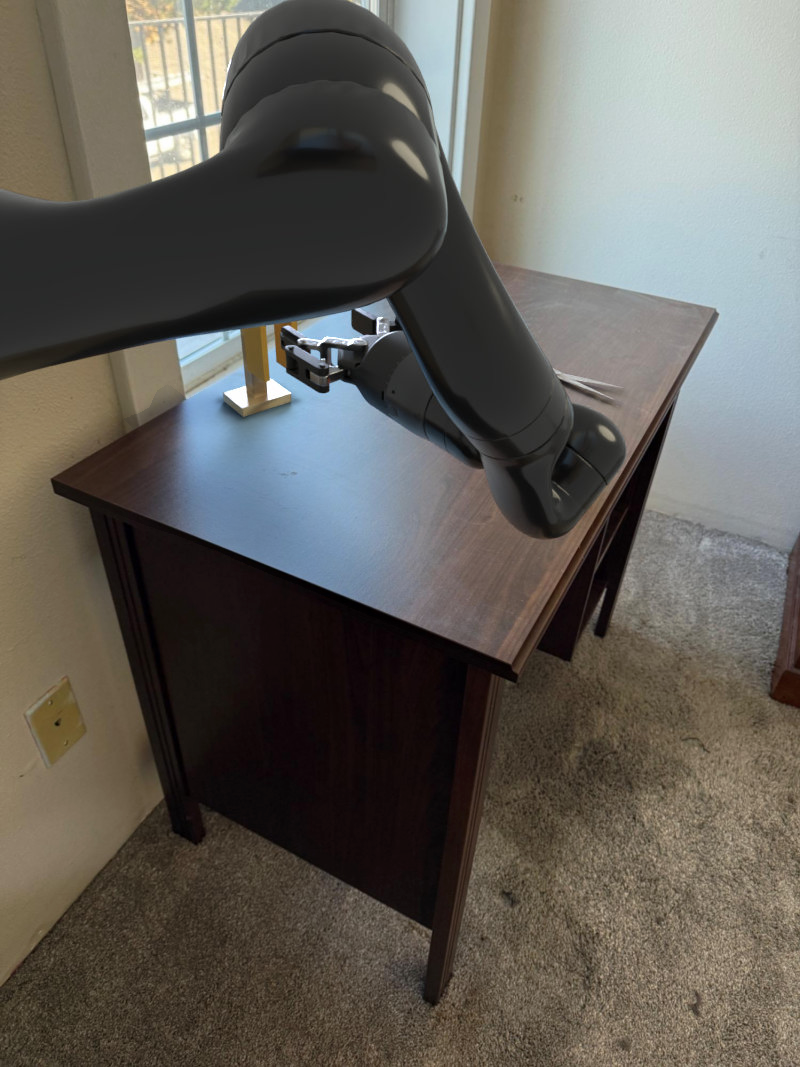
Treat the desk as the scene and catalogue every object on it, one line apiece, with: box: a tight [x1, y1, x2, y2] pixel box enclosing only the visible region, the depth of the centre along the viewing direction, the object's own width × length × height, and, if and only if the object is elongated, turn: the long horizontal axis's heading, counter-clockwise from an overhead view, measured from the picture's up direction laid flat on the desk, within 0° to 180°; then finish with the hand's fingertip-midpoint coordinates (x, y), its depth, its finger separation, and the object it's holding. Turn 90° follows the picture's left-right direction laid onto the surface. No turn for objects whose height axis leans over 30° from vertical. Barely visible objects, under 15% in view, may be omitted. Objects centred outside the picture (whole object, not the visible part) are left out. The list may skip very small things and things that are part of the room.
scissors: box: [552, 367, 624, 401], centre depth 103 cm, size 11×1×20 cm
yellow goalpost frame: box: [244, 321, 298, 383], centre depth 85 cm, size 5×4×11 cm
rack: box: [222, 329, 293, 418], centre depth 88 cm, size 7×10×18 cm
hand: (319, 326), depth 76 cm, fingers open, 8 cm apart
